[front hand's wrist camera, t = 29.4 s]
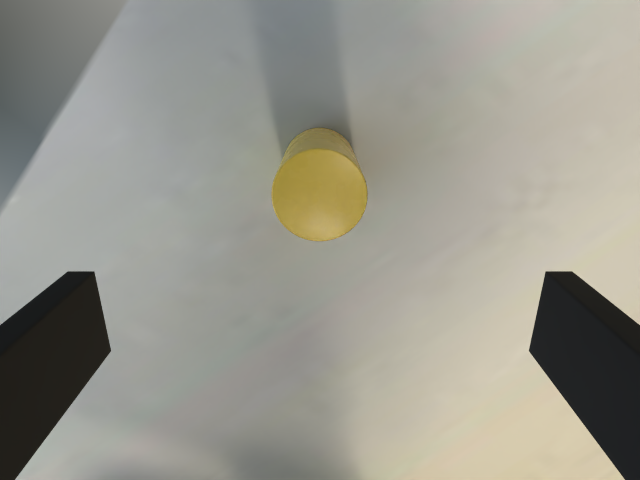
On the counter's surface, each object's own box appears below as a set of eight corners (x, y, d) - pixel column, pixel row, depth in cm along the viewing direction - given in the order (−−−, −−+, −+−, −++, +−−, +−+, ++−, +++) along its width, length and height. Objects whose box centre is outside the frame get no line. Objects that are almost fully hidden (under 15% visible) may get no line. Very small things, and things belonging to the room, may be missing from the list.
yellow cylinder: (351, 200, 34) (362, 244, 25) (282, 196, 34) (270, 238, 25) (358, 130, 32) (372, 151, 23) (285, 125, 32) (272, 145, 23)
